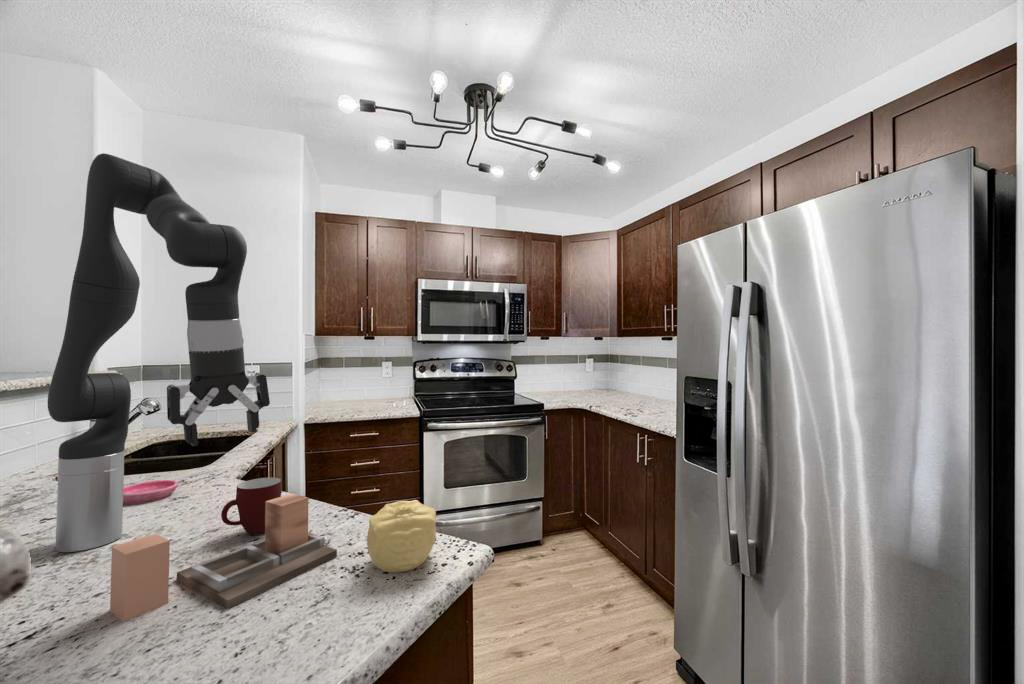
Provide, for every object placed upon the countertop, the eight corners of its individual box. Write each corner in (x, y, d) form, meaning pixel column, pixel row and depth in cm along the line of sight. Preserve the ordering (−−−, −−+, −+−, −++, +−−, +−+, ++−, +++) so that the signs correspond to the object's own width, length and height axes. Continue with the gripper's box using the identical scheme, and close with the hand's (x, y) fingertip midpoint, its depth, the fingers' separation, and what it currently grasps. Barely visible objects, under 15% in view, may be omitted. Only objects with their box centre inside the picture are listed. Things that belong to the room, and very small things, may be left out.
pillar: (110, 610, 59) (111, 546, 60) (153, 593, 64) (155, 533, 64) (123, 621, 57) (125, 554, 57) (168, 602, 61) (169, 540, 61)
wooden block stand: (176, 579, 67) (178, 516, 68) (284, 538, 83) (285, 486, 83) (227, 609, 59) (229, 536, 60) (336, 556, 75) (337, 499, 75)
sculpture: (370, 588, 65) (370, 517, 65) (364, 555, 76) (364, 495, 76) (442, 572, 69) (442, 506, 70) (427, 543, 80) (427, 486, 81)
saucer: (189, 492, 113) (190, 480, 113) (139, 508, 101) (139, 495, 101) (154, 489, 116) (154, 478, 116) (101, 505, 104) (101, 492, 104)
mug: (229, 548, 79) (230, 494, 79) (215, 537, 84) (216, 487, 84) (287, 530, 87) (288, 481, 87) (271, 520, 92) (272, 475, 92)
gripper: (256, 339, 77) (261, 422, 80) (157, 347, 67) (167, 443, 69) (271, 344, 73) (276, 432, 75) (167, 353, 62) (177, 456, 64)
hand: (224, 437), depth 72 cm, fingers open, 8 cm apart
